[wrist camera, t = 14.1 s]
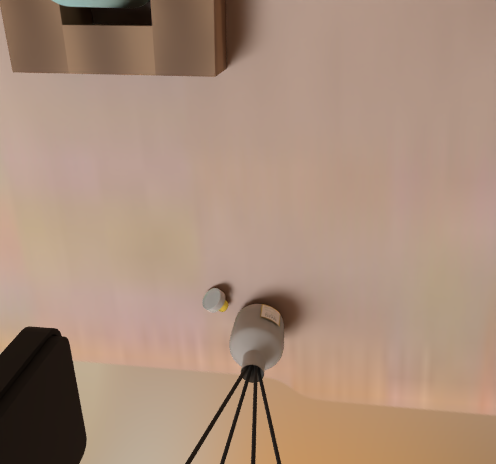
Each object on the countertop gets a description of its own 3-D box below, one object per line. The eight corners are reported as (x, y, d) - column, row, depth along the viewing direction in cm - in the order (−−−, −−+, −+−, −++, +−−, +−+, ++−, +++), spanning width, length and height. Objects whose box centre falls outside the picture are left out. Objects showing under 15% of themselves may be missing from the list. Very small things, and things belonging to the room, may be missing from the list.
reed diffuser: (315, 319, 44) (322, 530, 26) (281, 370, 47) (267, 592, 29) (215, 273, 43) (151, 460, 25) (187, 328, 46) (112, 530, 28)
